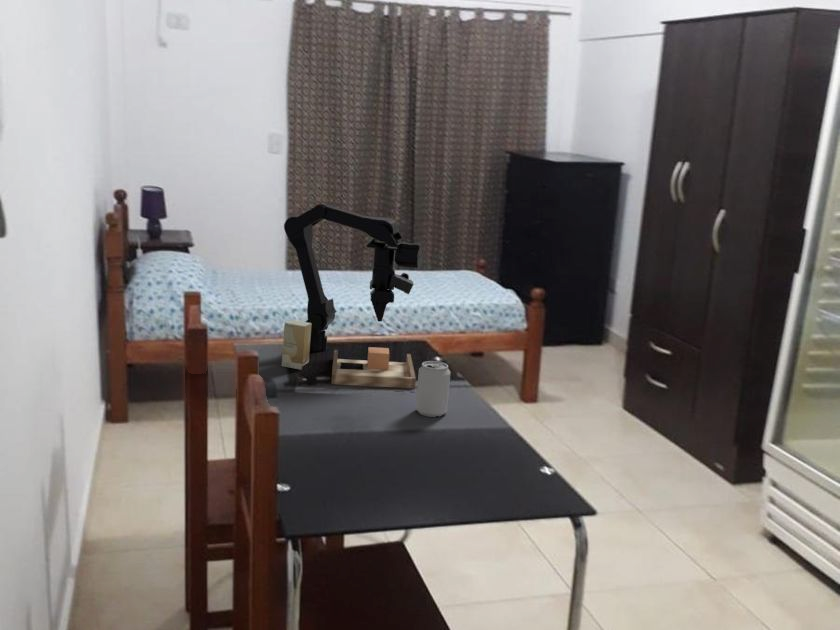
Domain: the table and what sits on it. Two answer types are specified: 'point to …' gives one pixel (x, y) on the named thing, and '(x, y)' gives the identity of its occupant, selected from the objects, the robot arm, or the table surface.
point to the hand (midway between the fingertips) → (379, 320)
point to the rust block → (378, 358)
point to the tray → (374, 374)
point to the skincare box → (296, 344)
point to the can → (433, 388)
